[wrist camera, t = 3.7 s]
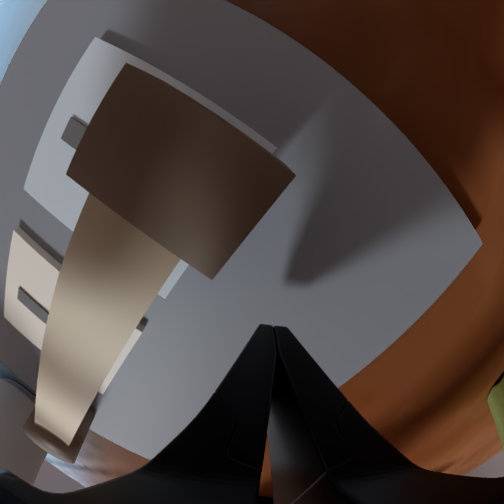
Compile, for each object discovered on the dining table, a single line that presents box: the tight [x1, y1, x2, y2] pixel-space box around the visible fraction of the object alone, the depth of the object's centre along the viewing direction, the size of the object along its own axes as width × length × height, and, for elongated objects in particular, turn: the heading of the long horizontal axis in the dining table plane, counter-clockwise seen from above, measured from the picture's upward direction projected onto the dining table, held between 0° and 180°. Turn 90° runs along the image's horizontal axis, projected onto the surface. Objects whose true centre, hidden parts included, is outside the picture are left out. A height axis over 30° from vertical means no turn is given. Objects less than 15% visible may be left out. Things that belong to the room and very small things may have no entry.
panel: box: [0, 0, 483, 460], centre depth 10 cm, size 20×24×1 cm
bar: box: [22, 63, 296, 464], centre depth 9 cm, size 20×4×4 cm, turn 143°
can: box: [0, 378, 48, 485], centre depth 10 cm, size 8×8×12 cm
